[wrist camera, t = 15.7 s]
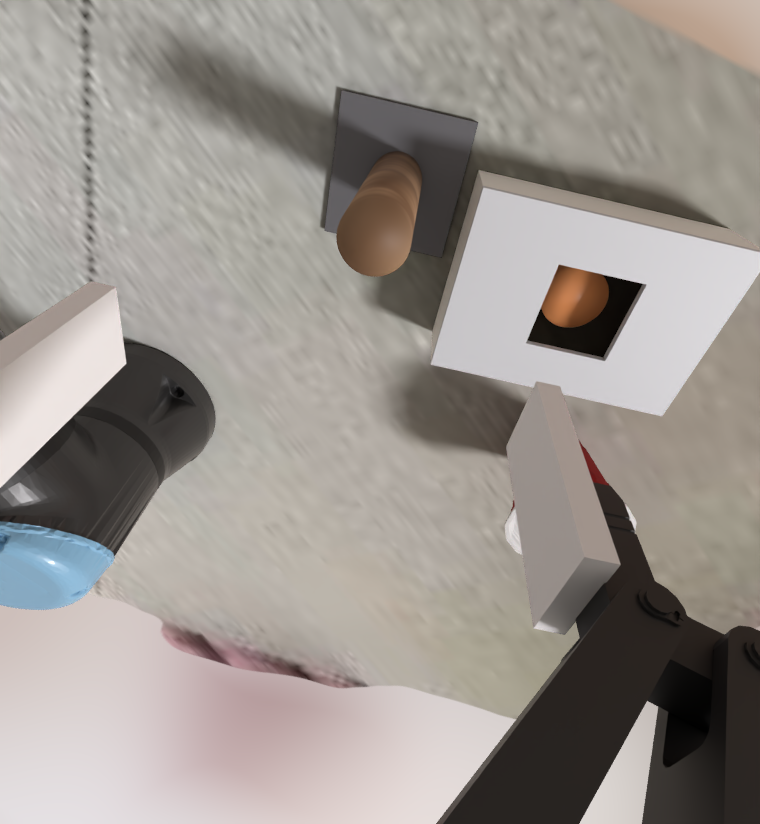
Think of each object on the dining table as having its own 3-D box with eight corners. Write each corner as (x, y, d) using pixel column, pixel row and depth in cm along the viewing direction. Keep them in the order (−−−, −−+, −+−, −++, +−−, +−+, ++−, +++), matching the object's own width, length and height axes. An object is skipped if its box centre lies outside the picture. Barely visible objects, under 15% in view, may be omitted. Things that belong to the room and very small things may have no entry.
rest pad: (325, 229, 42) (324, 230, 41) (342, 90, 36) (341, 90, 35) (441, 256, 42) (441, 257, 42) (477, 122, 36) (478, 122, 36)
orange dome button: (527, 307, 43) (531, 319, 41) (550, 249, 40) (556, 259, 38) (584, 320, 44) (591, 333, 42) (612, 263, 41) (620, 274, 39)
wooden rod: (366, 201, 40) (331, 267, 28) (375, 145, 37) (342, 192, 25) (415, 212, 40) (402, 283, 28) (427, 158, 37) (419, 209, 25)
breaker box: (432, 331, 46) (430, 364, 41) (478, 169, 38) (483, 187, 33) (639, 378, 47) (661, 416, 42) (730, 229, 38) (771, 255, 34)
